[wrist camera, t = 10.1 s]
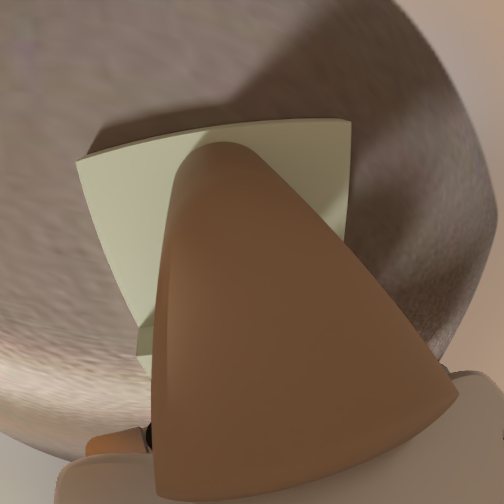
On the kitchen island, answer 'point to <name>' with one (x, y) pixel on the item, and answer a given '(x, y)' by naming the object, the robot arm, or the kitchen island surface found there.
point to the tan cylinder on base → (256, 308)
